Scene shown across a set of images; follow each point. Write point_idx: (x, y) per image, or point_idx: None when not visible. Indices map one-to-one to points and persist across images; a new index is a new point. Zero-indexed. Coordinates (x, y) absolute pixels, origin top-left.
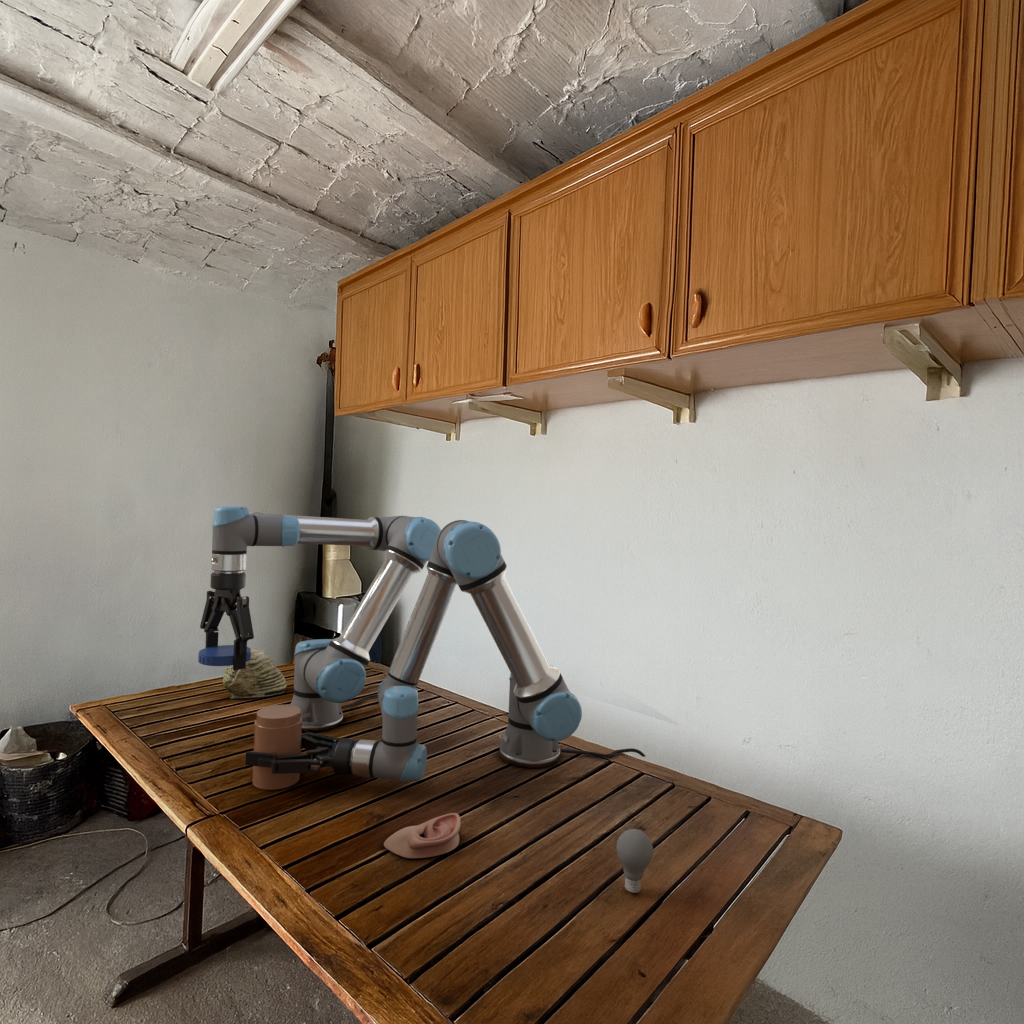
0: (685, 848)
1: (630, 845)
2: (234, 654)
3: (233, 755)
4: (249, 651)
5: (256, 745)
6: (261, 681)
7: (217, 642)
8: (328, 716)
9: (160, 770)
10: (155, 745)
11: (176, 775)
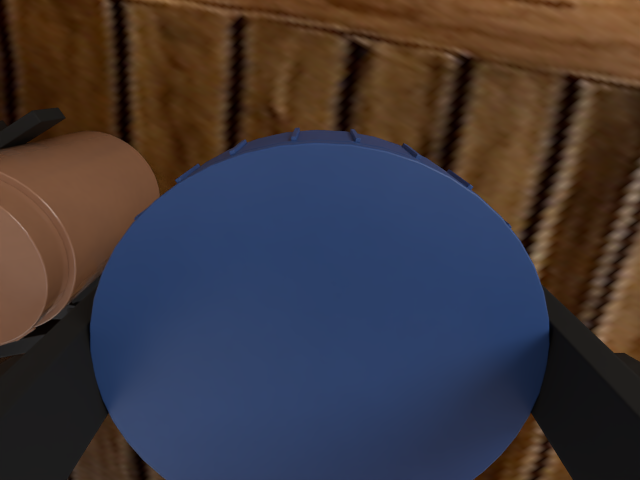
0: None
1: None
2: (61, 336)
3: None
4: (166, 476)
5: (21, 149)
6: None
7: (551, 438)
8: None
9: (389, 6)
10: (578, 96)
11: (318, 21)
